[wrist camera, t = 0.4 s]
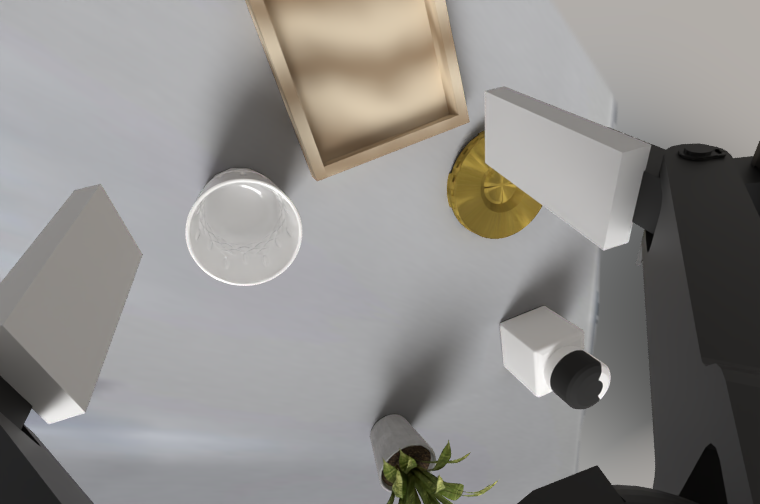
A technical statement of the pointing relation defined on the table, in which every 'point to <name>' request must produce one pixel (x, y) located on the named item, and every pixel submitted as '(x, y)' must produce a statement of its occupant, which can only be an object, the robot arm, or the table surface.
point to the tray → (361, 75)
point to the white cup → (243, 228)
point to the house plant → (411, 464)
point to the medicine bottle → (553, 358)
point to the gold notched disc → (487, 196)
